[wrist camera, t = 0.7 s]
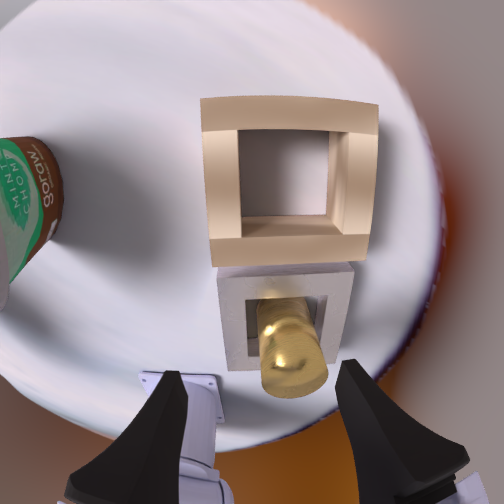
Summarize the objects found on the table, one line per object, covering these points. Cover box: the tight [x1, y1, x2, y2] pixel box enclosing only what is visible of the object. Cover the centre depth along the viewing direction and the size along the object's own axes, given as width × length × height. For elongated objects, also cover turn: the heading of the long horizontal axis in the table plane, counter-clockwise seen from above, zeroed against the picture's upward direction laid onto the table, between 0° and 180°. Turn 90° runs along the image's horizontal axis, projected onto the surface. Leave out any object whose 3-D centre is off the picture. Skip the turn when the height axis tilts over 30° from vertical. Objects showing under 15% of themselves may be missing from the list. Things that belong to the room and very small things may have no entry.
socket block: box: [217, 261, 355, 371], centre depth 20 cm, size 9×9×2 cm
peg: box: [256, 297, 328, 399], centre depth 18 cm, size 4×4×7 cm
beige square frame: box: [200, 96, 378, 267], centre depth 15 cm, size 9×9×4 cm
